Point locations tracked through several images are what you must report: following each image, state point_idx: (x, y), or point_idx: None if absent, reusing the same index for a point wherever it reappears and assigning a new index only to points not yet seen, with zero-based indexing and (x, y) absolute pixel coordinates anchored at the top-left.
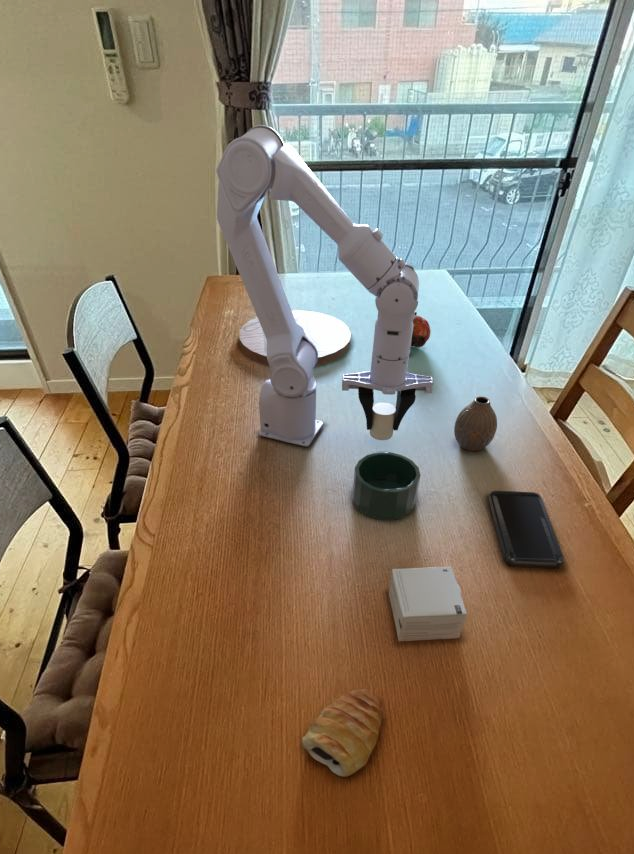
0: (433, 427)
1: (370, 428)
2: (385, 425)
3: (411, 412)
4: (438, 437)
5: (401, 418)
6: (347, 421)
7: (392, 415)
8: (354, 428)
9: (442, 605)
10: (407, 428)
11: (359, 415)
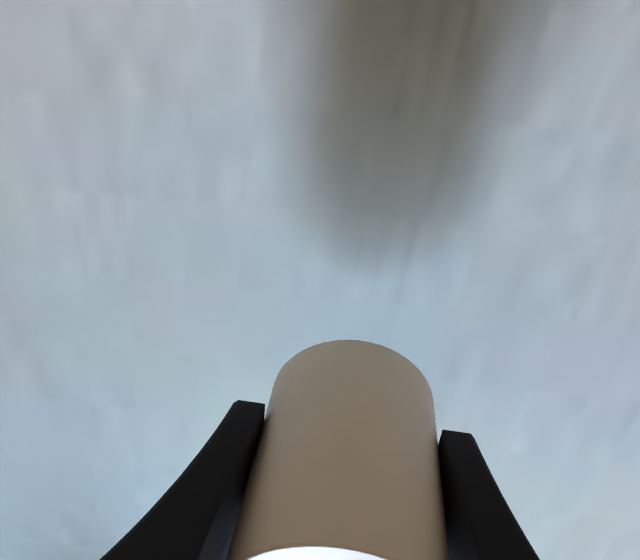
0: (41, 430)
1: (451, 438)
2: (337, 440)
3: None
4: (4, 355)
5: (178, 488)
6: None
7: (262, 532)
8: None
9: None
10: (180, 439)
11: None
